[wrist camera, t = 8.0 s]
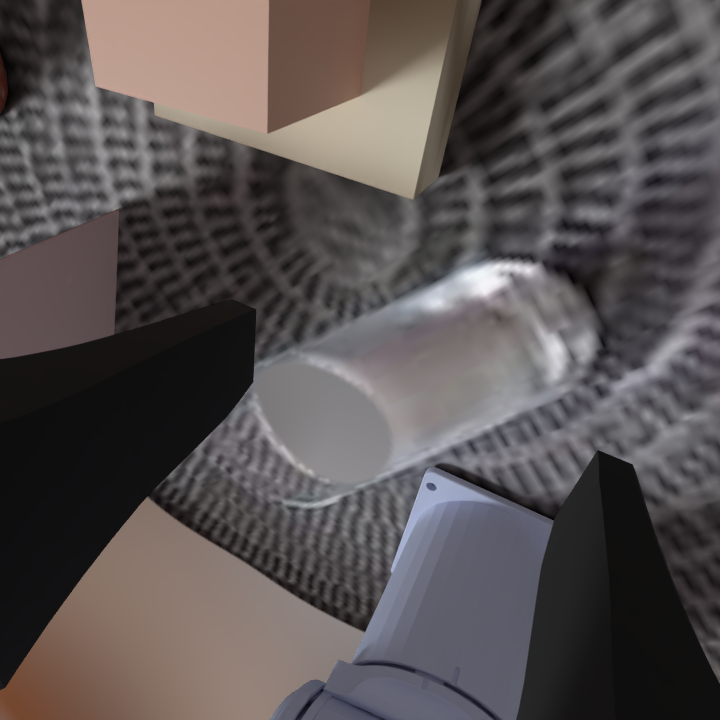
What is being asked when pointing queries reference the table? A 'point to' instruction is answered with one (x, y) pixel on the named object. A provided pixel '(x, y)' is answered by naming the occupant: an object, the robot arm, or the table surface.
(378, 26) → the birch block
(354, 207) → the table surface
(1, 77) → the supplement bottle
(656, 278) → the table surface
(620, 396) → the table surface
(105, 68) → the terracotta cube
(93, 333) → the greeting card
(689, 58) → the table surface
